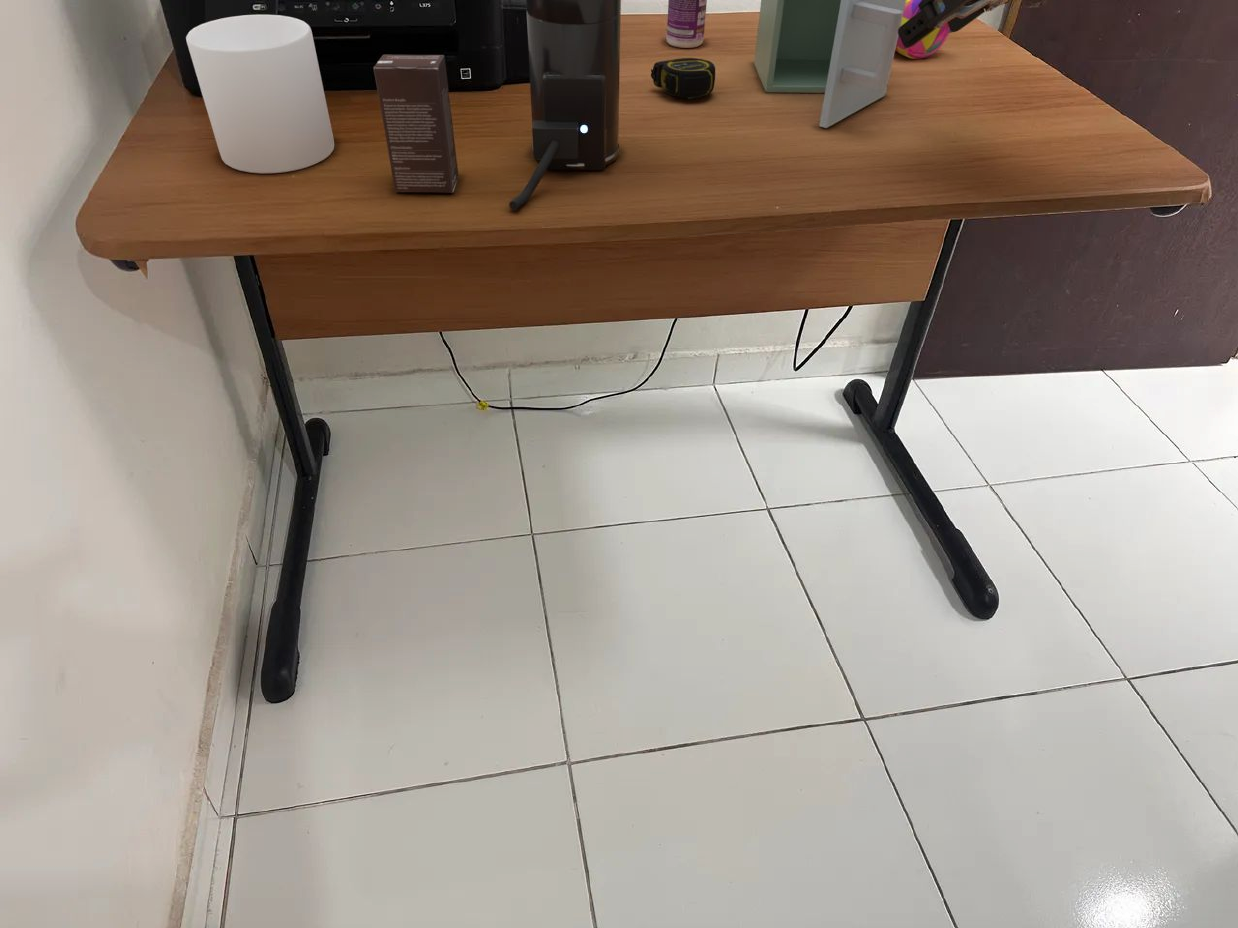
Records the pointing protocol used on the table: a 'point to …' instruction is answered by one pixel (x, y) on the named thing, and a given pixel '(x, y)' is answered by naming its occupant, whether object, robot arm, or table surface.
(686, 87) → the tape measure
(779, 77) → the cabinet
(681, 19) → the pill bottle
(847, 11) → the cabinet door
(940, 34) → the colorful pencil case
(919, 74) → the table surface
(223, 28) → the white cylinder
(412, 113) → the box
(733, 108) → the table surface
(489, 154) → the table surface
